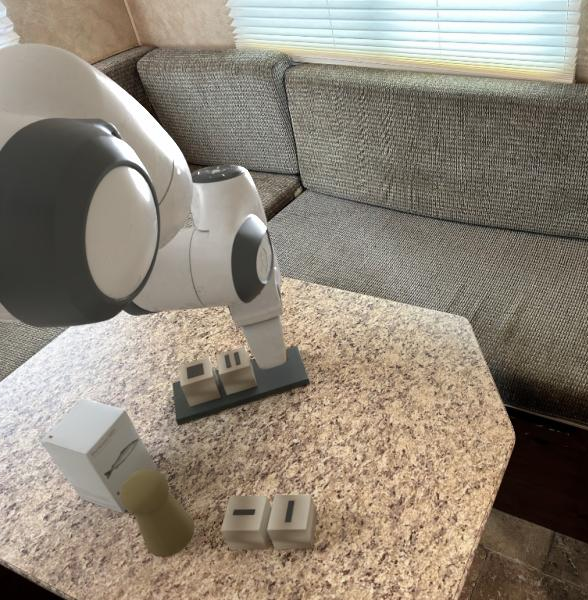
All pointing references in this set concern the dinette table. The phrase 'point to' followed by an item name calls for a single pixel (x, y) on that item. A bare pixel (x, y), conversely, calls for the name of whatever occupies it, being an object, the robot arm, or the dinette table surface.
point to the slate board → (267, 385)
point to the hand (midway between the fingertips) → (269, 347)
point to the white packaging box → (97, 451)
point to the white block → (292, 521)
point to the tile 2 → (236, 370)
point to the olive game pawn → (157, 513)
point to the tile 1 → (199, 381)
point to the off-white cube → (247, 522)
